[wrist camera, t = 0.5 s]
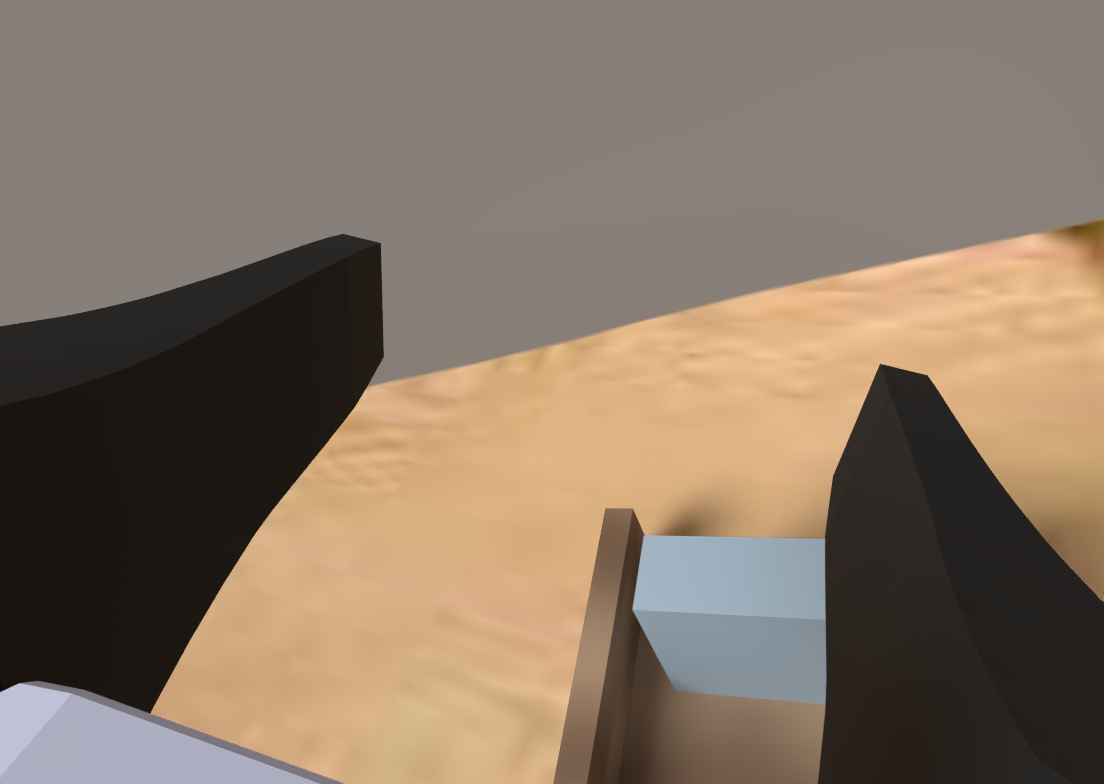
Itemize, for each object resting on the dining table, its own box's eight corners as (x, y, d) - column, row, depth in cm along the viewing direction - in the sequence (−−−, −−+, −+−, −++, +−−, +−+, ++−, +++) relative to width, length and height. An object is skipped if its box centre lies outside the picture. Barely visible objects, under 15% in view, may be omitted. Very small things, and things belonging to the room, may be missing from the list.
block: (939, 714, 25) (944, 626, 21) (675, 691, 28) (632, 609, 24) (933, 638, 27) (936, 540, 22) (683, 623, 30) (643, 535, 25)
